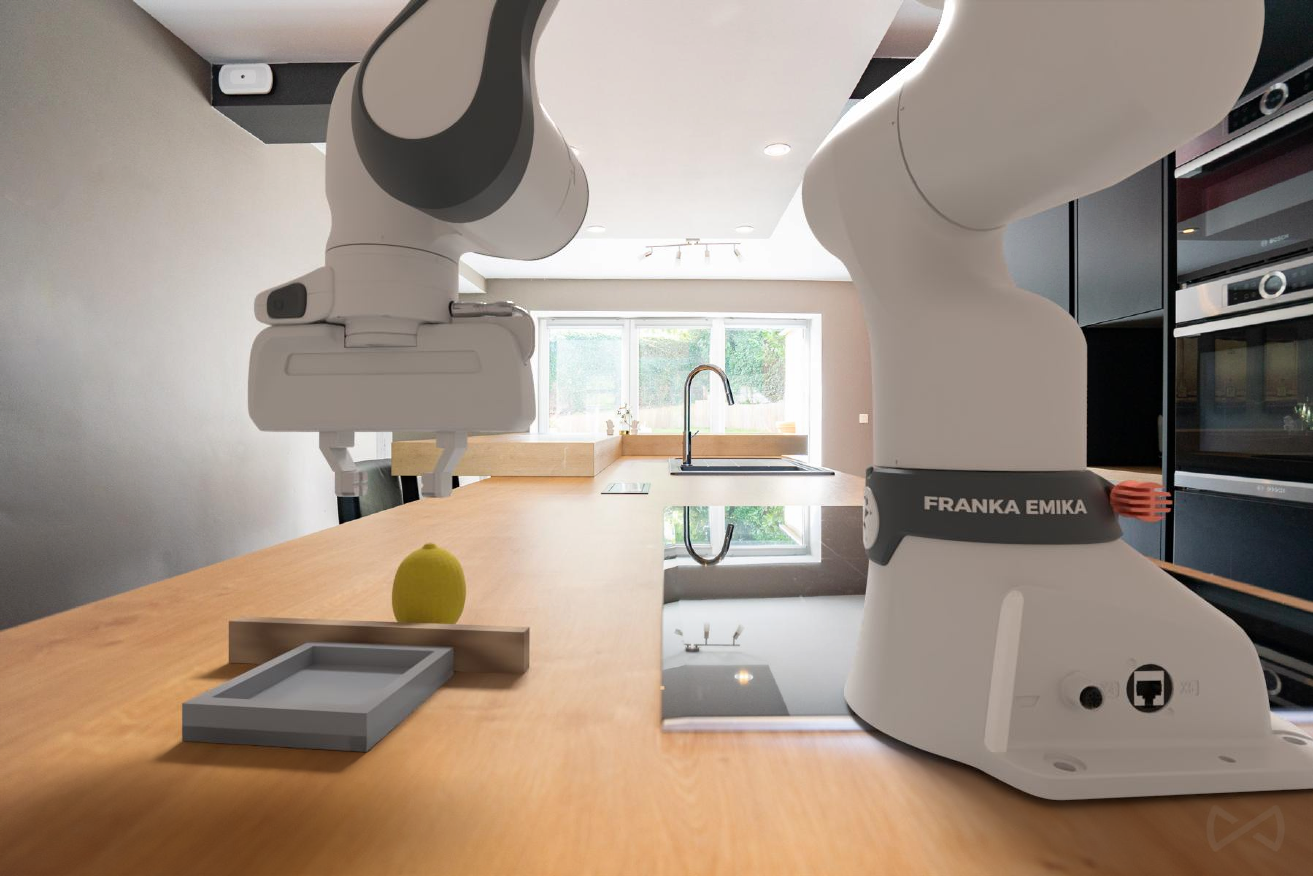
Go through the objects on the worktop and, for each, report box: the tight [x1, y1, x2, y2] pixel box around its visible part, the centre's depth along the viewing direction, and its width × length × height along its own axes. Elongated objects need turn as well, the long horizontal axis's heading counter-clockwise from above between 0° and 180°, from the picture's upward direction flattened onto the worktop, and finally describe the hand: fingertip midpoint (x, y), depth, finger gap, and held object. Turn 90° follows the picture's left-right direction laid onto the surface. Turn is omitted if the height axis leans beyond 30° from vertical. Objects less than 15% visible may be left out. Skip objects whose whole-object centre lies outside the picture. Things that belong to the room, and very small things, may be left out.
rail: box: [228, 615, 531, 674], centre depth 45 cm, size 22×1×3 cm, turn 84°
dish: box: [181, 641, 454, 753], centre depth 39 cm, size 10×10×2 cm
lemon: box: [391, 542, 467, 624], centre depth 50 cm, size 6×6×8 cm
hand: (393, 496), depth 45 cm, fingers open, 5 cm apart
